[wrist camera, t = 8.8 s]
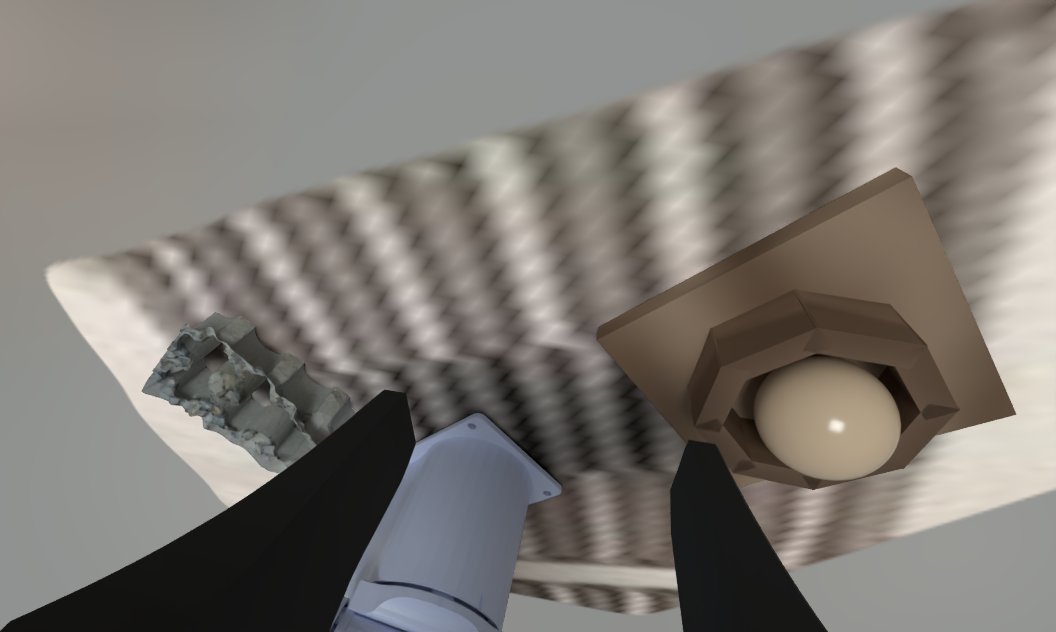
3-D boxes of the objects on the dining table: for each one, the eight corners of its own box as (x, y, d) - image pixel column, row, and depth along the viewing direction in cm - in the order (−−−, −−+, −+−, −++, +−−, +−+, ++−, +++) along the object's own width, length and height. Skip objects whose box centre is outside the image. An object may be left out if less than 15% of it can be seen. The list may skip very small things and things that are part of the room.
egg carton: (374, 407, 27) (340, 461, 24) (318, 445, 31) (281, 496, 28) (227, 291, 24) (164, 334, 21) (183, 349, 28) (123, 394, 25)
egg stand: (724, 474, 24) (736, 534, 21) (598, 327, 20) (592, 377, 17) (999, 396, 18) (1067, 466, 15) (895, 167, 14) (961, 204, 11)
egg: (764, 427, 20) (813, 520, 16) (717, 369, 18) (761, 459, 14) (869, 382, 18) (952, 475, 15) (828, 312, 16) (912, 398, 13)
